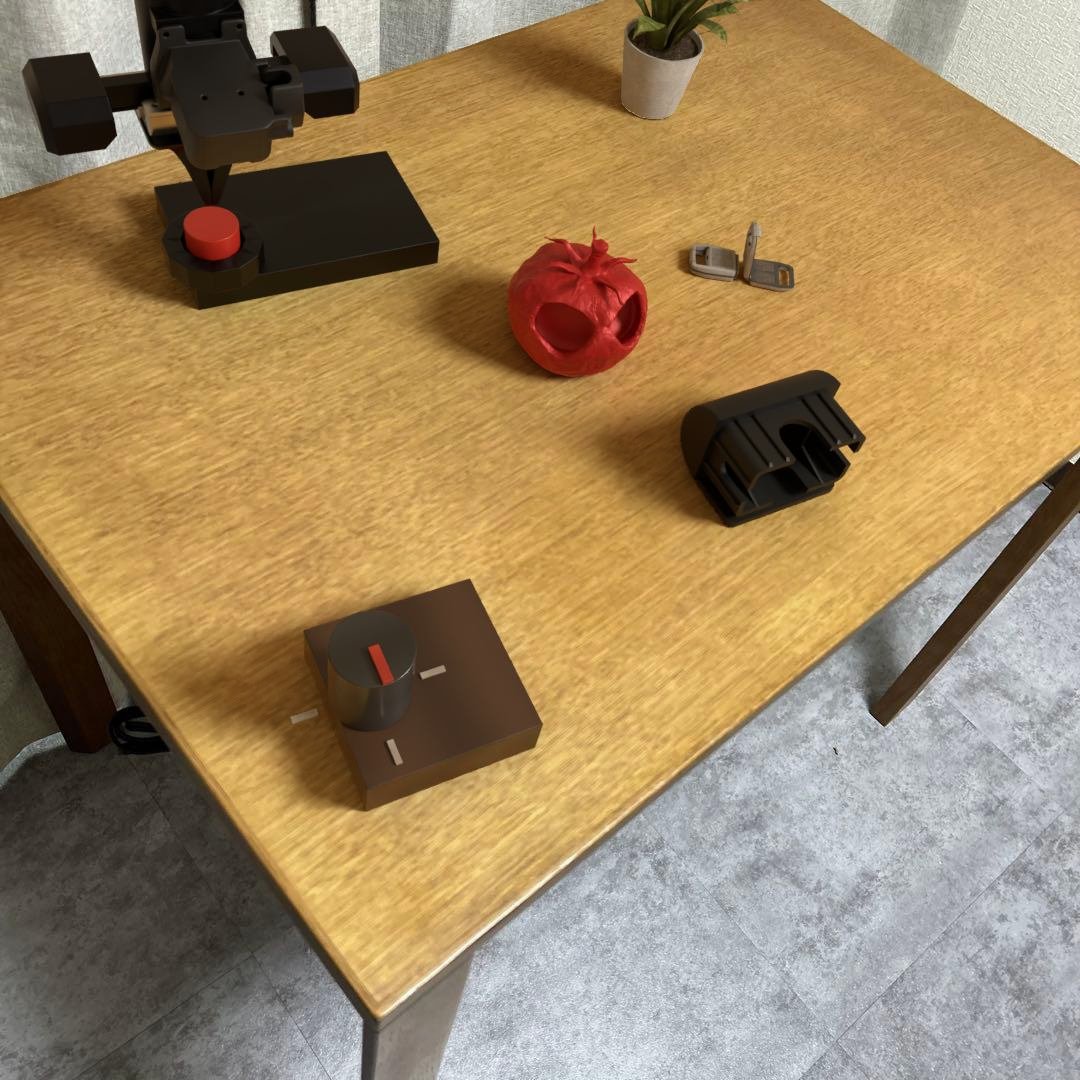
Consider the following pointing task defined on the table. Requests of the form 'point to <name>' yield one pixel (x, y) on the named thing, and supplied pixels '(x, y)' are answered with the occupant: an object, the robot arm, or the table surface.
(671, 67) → the house plant
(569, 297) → the red hollow tomato
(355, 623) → the dial knob
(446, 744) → the knob panel
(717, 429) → the end cap
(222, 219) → the button
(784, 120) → the table surface
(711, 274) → the strap clip
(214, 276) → the black rectangular slab
